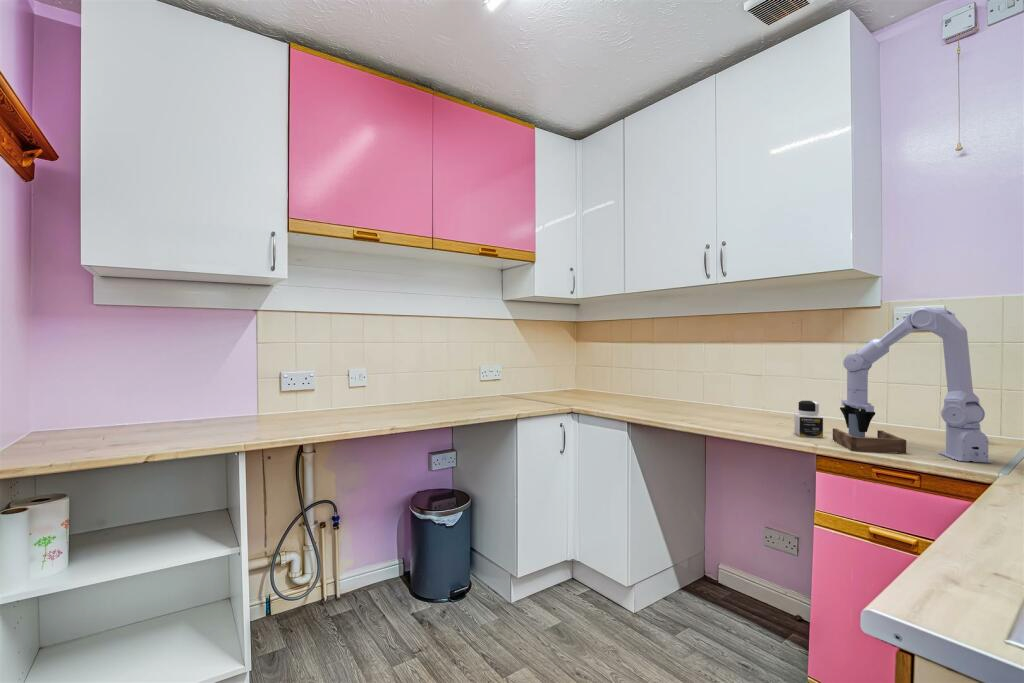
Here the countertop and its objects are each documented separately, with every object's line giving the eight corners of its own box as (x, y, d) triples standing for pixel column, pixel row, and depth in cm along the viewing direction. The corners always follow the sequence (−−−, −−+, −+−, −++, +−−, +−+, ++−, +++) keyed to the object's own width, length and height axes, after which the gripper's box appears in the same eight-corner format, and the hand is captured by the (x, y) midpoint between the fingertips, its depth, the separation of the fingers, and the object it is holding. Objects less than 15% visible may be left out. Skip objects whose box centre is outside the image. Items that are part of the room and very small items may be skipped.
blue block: (865, 437, 161) (865, 416, 161) (848, 436, 164) (848, 415, 164) (864, 435, 165) (865, 414, 165) (848, 433, 167) (848, 413, 167)
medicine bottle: (799, 436, 168) (799, 401, 167) (794, 432, 174) (794, 399, 174) (823, 438, 165) (823, 402, 165) (816, 434, 172) (817, 400, 172)
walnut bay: (906, 453, 143) (906, 440, 143) (851, 450, 147) (851, 437, 147) (881, 442, 158) (881, 430, 158) (832, 440, 161) (832, 428, 161)
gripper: (884, 392, 157) (883, 434, 157) (856, 387, 171) (856, 426, 171) (860, 392, 157) (860, 434, 157) (835, 387, 172) (835, 425, 172)
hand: (856, 430), depth 164 cm, fingers closed on blue block, 6 cm apart
